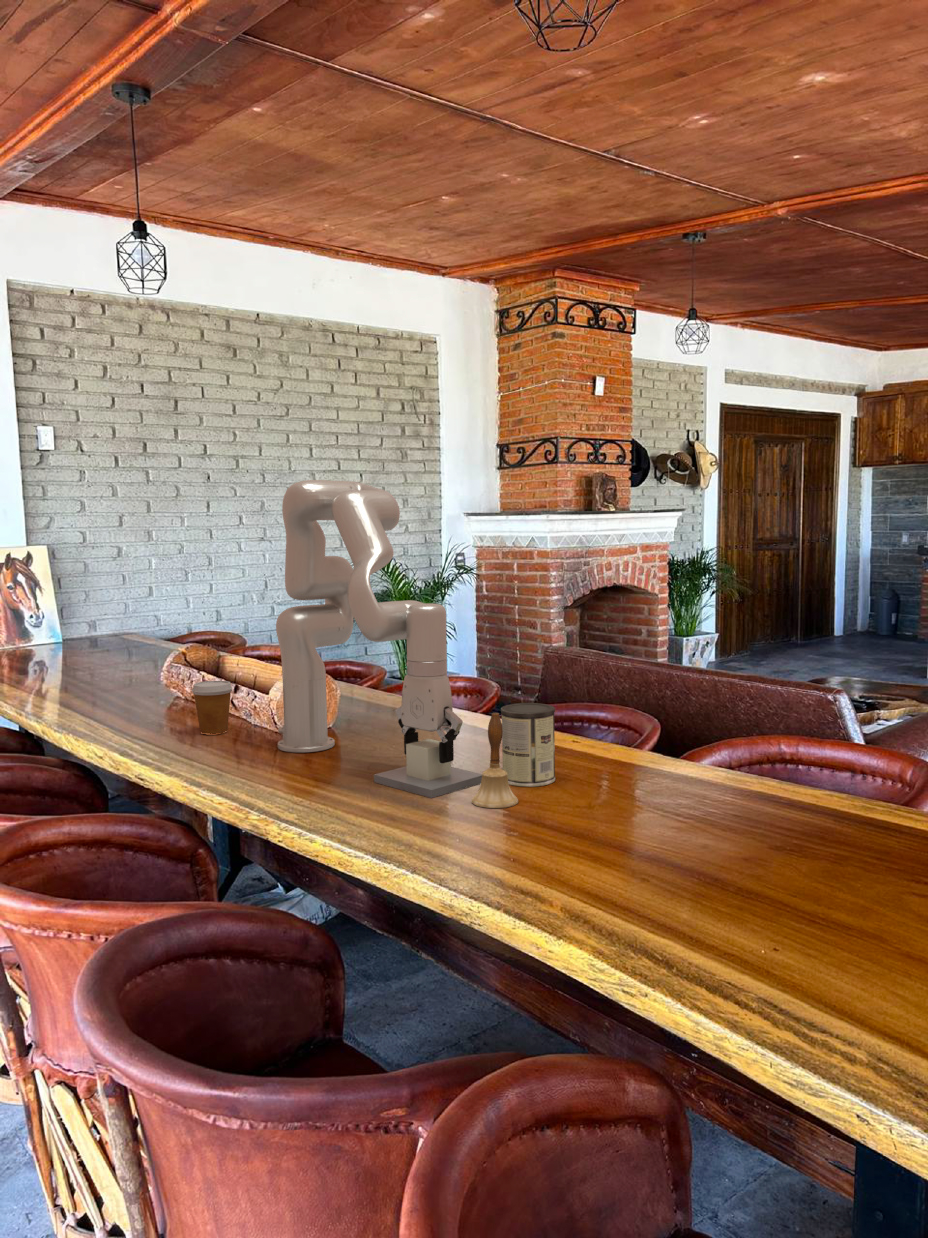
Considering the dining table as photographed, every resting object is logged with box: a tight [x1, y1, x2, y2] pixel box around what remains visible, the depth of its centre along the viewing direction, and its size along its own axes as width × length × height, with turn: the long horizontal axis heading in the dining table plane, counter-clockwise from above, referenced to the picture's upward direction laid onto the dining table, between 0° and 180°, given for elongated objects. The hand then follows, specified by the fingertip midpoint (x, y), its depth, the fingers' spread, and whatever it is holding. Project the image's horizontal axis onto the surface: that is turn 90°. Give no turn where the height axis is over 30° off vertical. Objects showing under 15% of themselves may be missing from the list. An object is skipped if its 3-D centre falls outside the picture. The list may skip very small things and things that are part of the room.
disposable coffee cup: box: [191, 680, 233, 734], centre depth 226 cm, size 10×10×12 cm
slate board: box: [373, 765, 482, 799], centre depth 180 cm, size 16×14×2 cm
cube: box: [405, 738, 452, 781], centre depth 180 cm, size 6×6×6 cm
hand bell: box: [471, 712, 519, 809], centre depth 166 cm, size 8×8×16 cm
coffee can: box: [500, 702, 556, 788], centre depth 180 cm, size 10×10×14 cm
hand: (428, 757), depth 180 cm, fingers open, 9 cm apart
